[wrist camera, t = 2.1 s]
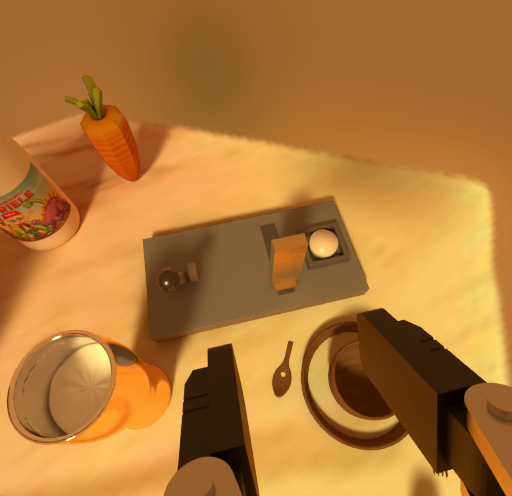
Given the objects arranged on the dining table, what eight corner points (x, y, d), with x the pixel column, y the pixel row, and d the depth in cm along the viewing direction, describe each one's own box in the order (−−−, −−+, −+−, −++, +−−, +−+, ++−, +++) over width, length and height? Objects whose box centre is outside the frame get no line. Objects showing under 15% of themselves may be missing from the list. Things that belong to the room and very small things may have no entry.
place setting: (447, 350, 36) (479, 339, 30) (440, 590, 27) (483, 633, 22) (290, 307, 38) (294, 289, 33) (238, 515, 30) (233, 537, 24)
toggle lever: (174, 288, 37) (157, 295, 28) (170, 270, 37) (152, 272, 28) (192, 284, 37) (180, 290, 28) (188, 267, 37) (176, 267, 28)
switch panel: (156, 342, 36) (146, 335, 33) (147, 246, 41) (138, 232, 38) (364, 294, 38) (373, 283, 35) (330, 209, 43) (336, 193, 40)
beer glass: (149, 346, 36) (82, 305, 22) (189, 396, 33) (141, 384, 20) (93, 394, 34) (-17, 381, 20) (132, 452, 31) (36, 480, 18)
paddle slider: (272, 293, 36) (276, 258, 28) (267, 273, 37) (269, 234, 29) (299, 287, 36) (310, 250, 28) (293, 267, 37) (302, 227, 29)
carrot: (137, 200, 44) (84, 108, 31) (109, 185, 46) (46, 91, 32) (159, 174, 46) (118, 77, 33) (132, 161, 48) (81, 62, 34)
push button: (313, 261, 38) (314, 257, 36) (305, 237, 39) (306, 232, 38) (340, 255, 38) (342, 251, 37) (330, 232, 39) (332, 227, 38)
